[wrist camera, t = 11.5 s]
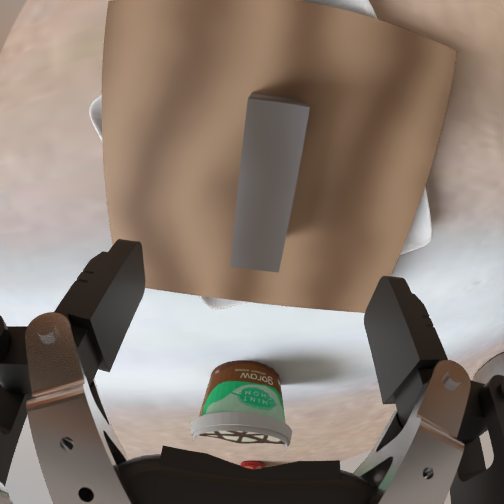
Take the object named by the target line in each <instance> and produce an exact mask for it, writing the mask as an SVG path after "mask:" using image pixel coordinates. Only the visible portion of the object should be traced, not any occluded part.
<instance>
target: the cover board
mask: <svg viewBox="0 0 504 504" xmlns="http://www.w3.org/2000/svg"><path fill="white" fill-rule="evenodd" d="M456 57H457V51H455V50H453V49H451V48H449V47H447V46H445V45H443V44H440V43H438V42H436V41H434V40H431V39H429V38H427V37H424V36H422V35H420V34H417V33H415V32H412V31H410V30H407V29H404V28H402V27H399V26H396V25H393V24H390V23H388V22H385V21H382V20H378V19H375V18H372V17H369V16H365V15H362V14H358V13H355V12H351V11H347V10H343V9H339V8H335V7H331V6H326V5H321V4H316V3H311V2H306V1H300V0H113V1H109V2H108V9H107V18H106V27H105V38H104V51H103V68H102V142H103V161H104V175H105V187H106V197H107V206H108V215H109V223H110V230H111V237H112V244H113V245H114V243H115V242H116V241H117V240H118V239H124V240H131V241H138V242H141V244H142V250H143V261H144V270H145V288H150V289H156V290H163V291H170V292H177V293H183V294H191V295H198V296H205V297H213V298H221V299H228V300H237V301H245V302H254V303H262V304H272V305H281V306H291V307H301V308H312V309H323V310H335V311H347V312H361V313H365V311H366V308H367V306H368V304H369V302H370V300H371V298H372V295H373V293H374V291H375V289H376V287H377V285H378V282H379V280H380V279H381V277H382V276H391V274H392V272H393V270H394V267H395V265H396V263H397V260H398V258H399V256H400V253H401V251H402V248H403V246H404V243H405V241H406V238H407V236H408V233H409V231H410V228H411V225H412V223H413V220H414V217H415V215H416V212H417V209H418V206H419V204H420V201H421V198H422V195H423V192H424V189H425V186H426V183H427V180H428V177H429V173H430V170H431V167H432V163H433V160H434V157H435V153H436V150H437V146H438V142H439V139H440V135H441V131H442V127H443V123H444V119H445V115H446V110H447V106H448V101H449V96H450V92H451V86H452V81H453V76H454V70H455V64H456Z"/></svg>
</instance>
